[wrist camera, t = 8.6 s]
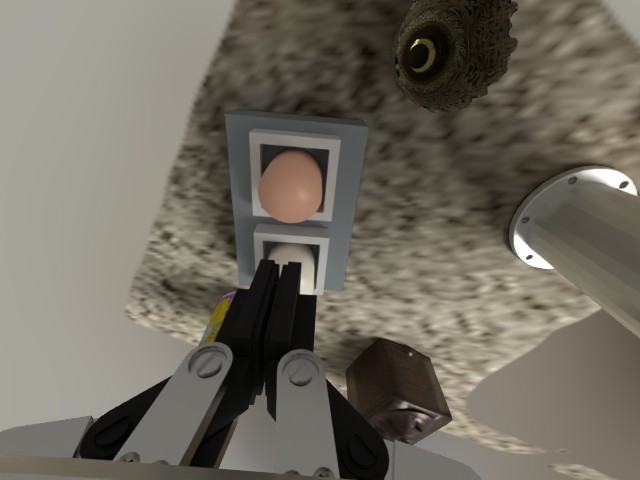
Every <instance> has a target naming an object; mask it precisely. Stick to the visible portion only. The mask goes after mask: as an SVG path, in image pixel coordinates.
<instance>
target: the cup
mask: <svg viewBox="0 0 640 480" xmlns="http://www.w3.org/2000/svg"><path fill="white" fill-rule="evenodd" d="M517 10H518V4H517V3H516V2H511V0H416V1H415V2H414V3H413V5H412V6H411V8H410V9H409V11H408V13H407V14H406V16H405V17H404V19H403V20H402V22H401V24H400V26H399V28H398V30H397V32H396V34H395V37H394V40H393V44H392V48H391V57H390V62H391V71H392V74H393V77H394V80H395V82H396V84H397V86H398V87H399V88H400V90H401V91H402V92H403V93H404V94H405V95H406V96H407V97H408V98H410V99H411V101H412V102H414V103H415V104H416V105H418V106H420V107H423V108H425V109H427V110H429V111H430V112H434V113H436V112H437V111H438V110H439V111H443V112H455V111H457V110H458V109H461V108H466V107H468V106H469V105H470V103H471V102H472V99H473V98H479V97H481V96H484V95H486V94H488V90H487V87H489V86H490V85H491V84H493V83H495V82H497V81H498V80H499V79H500V78H501V77H502V76H503V75H504V74H505V73H506V72H507V70H508V68H509V60H510V53H512V52H513V51H515V49H516V47H517V44H518V40H517V38H512V37H510V36H509V35H510V30H511V28H512V23H511V19H510V18H511V16H512V15H513V13H514V12H516V11H517ZM417 45H424V46H425V47H426V48H427V50H428V59H427V61H426V62H425V64H424V65H422V66H421V67H414V66H412V65H411V63H410V61H409V55H410V52H411V50H412V49H413V48H414V47H415V46H417Z"/></svg>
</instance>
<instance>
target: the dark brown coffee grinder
mask: <svg viewBox="0 0 640 480" xmlns="http://www.w3.org/2000/svg"><path fill="white" fill-rule="evenodd" d="M346 382H347V396H348V402H349V403H350V404H351V405H352V406H353V407H354V408H355V409H356V410H357V411H358V412H359V413H360V414H361V415H362V416H363V417H364V419H365V420H366V421H367V422H368V423H369V424H370V425H371V426H372V427H373V428H374V429H375V430H376V431H377V432H378V433H379V434H380V436H381V437H382V439H385V440H388V441H391V442H395V440H397V441H400V442H403V443H406V444H409V445H413V444H415V443H417V442H418V441H420V440H422V439H423V438H425V437H426V436H428V435H430V434H431V433H433V432H435V431H436V430H438V429H440V428H441V427H443V426H445V425H446V424H448V423H449V422H451V421H452V416H451V413H450V410H449V408H448V405H447V403H446V400H445V397H444V395H443V392H442V390H441V387H440V384H439V382H438V379H437V377H436V374H435V372H434V369H433V366H432V364H431V359H430V358H428V357H426V356H424V355H422V354H420V353H418V352H416V351H414V350H412V349H410V348H408V347H406V346H402V345H399V344H397V343H394V342H391V341H387V340H383V339H380V340H378V341H377V342H375V343H374V344H373V345H371V346H370V347H369V348H368V349H366V350H365V351H364V352H363V353H362V354H361V355H360V356H359V357H358V358H357V359H356V360H355V361H354V362H353V363H352V364H351V366H350V367H349V368H348V370H347V371H346Z"/></svg>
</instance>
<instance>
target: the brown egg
mask: <svg viewBox="0 0 640 480" xmlns="http://www.w3.org/2000/svg"><path fill="white" fill-rule="evenodd" d="M258 197H259V201H260V203H261V205H262V207H263V208H264V210H265V211H266V212H267V213H268V214H269V215H270V216H272V217H273V218H275V219H277V220H279V221H282V222H286V223H298V222H302V221H304V220H306V219H308V218H310V217H311V216H312V215H313V214H314V213H315V212H316V211H317V210H318V208H319V206H320V203H321V199H322V170H321V166H320V164H319V162H318V160H317V158H316V157H315V156H314V155H313V154H312V153H311V152H309V151H307V150H305V149H303V148H299V147H289V148H285V149H283V150H281V151H279V152H278V153H277V154H276V155H275V156H274V157H273V159H272V160H271V162H270V164H269V165H268V167H267V169H266V170H265V172H264V174H263V175H262V177H261V179H260V182H259V185H258Z"/></svg>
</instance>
